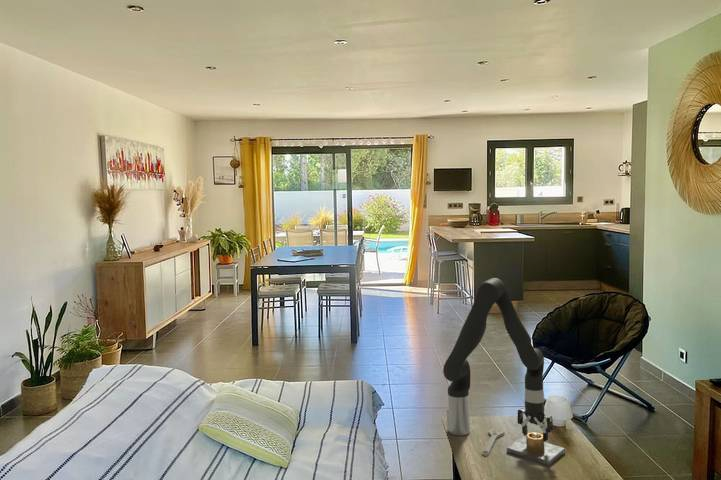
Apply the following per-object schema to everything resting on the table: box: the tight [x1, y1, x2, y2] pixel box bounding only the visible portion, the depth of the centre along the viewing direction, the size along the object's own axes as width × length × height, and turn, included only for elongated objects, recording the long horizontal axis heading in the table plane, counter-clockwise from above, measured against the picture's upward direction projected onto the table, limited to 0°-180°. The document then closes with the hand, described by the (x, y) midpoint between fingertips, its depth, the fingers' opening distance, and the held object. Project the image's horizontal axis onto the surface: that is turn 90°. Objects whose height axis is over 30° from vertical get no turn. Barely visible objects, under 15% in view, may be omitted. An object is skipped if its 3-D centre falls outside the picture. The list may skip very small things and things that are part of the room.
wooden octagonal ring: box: [526, 431, 544, 451], centre depth 215 cm, size 6×6×5 cm
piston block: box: [506, 432, 566, 467], centre depth 215 cm, size 18×14×8 cm
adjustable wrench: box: [481, 428, 505, 457], centre depth 226 cm, size 25×6×2 cm, turn 149°
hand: (535, 437), depth 215 cm, fingers open, 8 cm apart
